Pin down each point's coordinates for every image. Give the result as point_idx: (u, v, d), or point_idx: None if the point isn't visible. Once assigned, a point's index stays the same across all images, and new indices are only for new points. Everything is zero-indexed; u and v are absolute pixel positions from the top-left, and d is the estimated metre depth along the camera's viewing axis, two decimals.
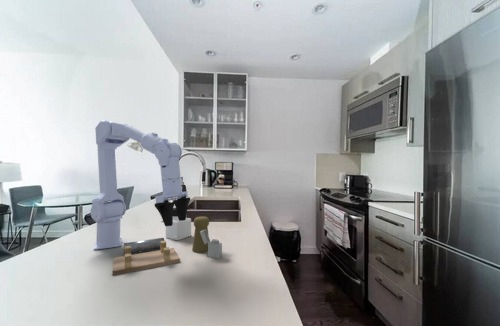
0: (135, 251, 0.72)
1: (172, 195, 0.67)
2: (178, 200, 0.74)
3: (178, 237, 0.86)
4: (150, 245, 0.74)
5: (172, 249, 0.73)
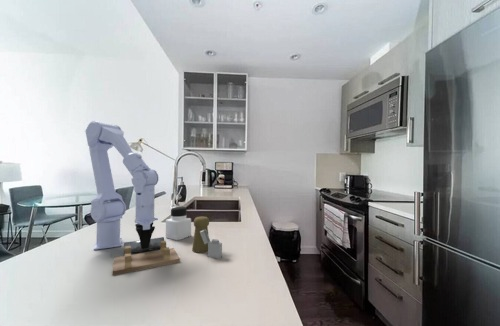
0: (135, 250, 0.72)
1: (152, 221, 0.73)
2: (142, 225, 0.77)
3: (178, 237, 0.86)
4: (150, 244, 0.74)
5: (172, 249, 0.73)
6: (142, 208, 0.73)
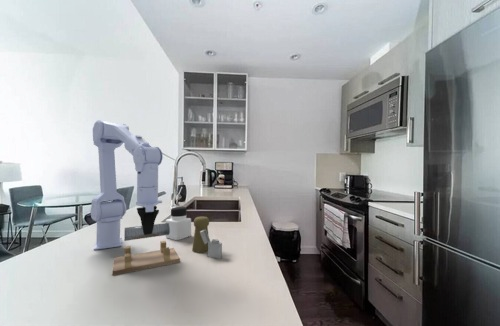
0: (137, 237, 0.64)
1: (156, 203, 0.65)
2: (144, 209, 0.68)
3: (178, 237, 0.86)
4: (154, 230, 0.66)
5: (172, 249, 0.73)
6: (144, 189, 0.64)
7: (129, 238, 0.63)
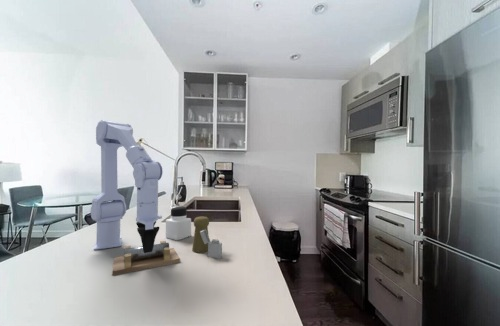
0: (136, 258, 0.64)
1: (155, 220, 0.65)
2: (144, 223, 0.69)
3: (178, 237, 0.86)
4: (154, 251, 0.66)
5: (172, 249, 0.73)
6: (144, 205, 0.64)
7: None
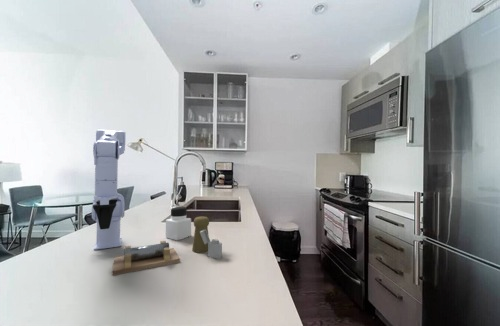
0: (136, 258, 0.64)
1: (113, 197, 0.65)
2: None
3: (178, 237, 0.86)
4: (154, 251, 0.66)
5: (172, 249, 0.73)
6: (101, 182, 0.65)
7: None
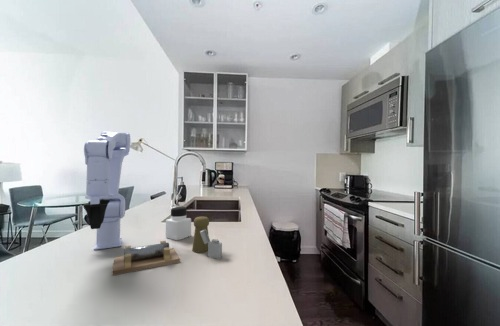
0: (136, 258, 0.64)
1: (104, 197, 0.65)
2: None
3: (178, 237, 0.86)
4: (154, 251, 0.66)
5: (172, 249, 0.73)
6: (93, 182, 0.65)
7: None
